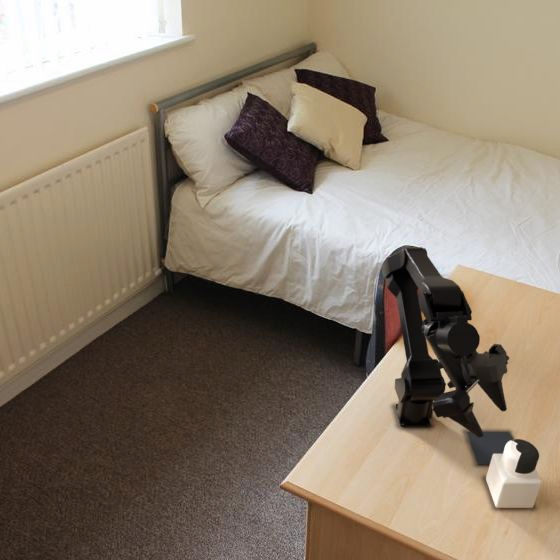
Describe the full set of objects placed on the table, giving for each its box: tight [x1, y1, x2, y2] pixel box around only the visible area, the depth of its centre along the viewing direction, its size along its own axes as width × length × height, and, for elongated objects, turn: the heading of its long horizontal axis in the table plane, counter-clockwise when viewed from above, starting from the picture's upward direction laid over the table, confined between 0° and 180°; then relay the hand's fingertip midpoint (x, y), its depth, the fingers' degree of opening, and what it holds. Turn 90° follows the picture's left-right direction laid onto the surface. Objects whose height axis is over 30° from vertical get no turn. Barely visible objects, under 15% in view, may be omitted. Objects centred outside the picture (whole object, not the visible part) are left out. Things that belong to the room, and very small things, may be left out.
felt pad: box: [466, 431, 513, 466], centre depth 144 cm, size 9×9×1 cm
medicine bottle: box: [485, 438, 542, 509], centre depth 131 cm, size 7×7×12 cm
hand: (493, 423), depth 131 cm, fingers open, 9 cm apart
